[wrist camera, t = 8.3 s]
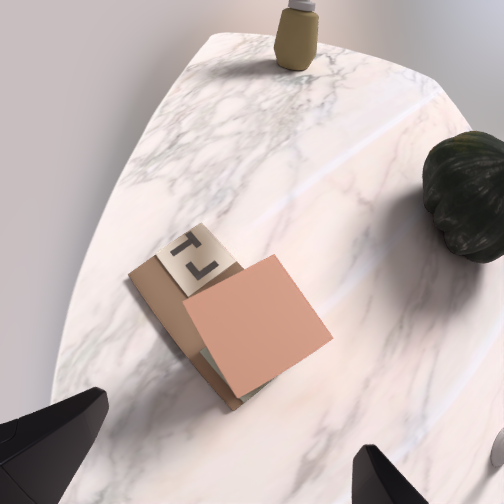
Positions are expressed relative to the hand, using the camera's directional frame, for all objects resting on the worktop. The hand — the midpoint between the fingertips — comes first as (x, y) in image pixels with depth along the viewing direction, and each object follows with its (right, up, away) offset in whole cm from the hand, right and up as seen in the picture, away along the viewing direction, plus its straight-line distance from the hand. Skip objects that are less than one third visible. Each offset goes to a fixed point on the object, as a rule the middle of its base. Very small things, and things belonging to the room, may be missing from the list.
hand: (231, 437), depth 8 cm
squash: (+26, +9, +21) cm, 35 cm away
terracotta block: (0, -2, +12) cm, 12 cm away
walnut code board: (-2, +1, +15) cm, 15 cm away
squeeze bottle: (+8, +42, +38) cm, 57 cm away
